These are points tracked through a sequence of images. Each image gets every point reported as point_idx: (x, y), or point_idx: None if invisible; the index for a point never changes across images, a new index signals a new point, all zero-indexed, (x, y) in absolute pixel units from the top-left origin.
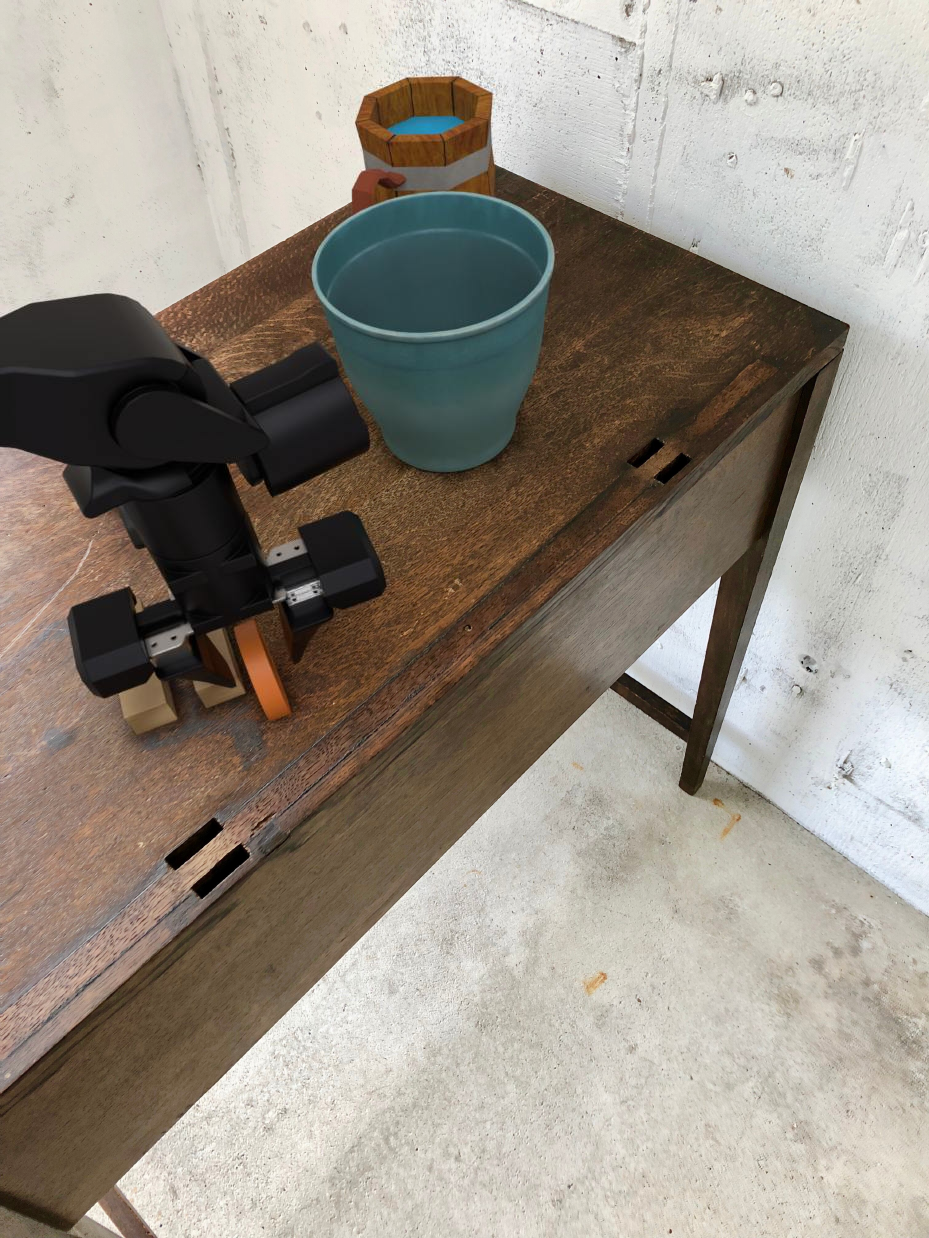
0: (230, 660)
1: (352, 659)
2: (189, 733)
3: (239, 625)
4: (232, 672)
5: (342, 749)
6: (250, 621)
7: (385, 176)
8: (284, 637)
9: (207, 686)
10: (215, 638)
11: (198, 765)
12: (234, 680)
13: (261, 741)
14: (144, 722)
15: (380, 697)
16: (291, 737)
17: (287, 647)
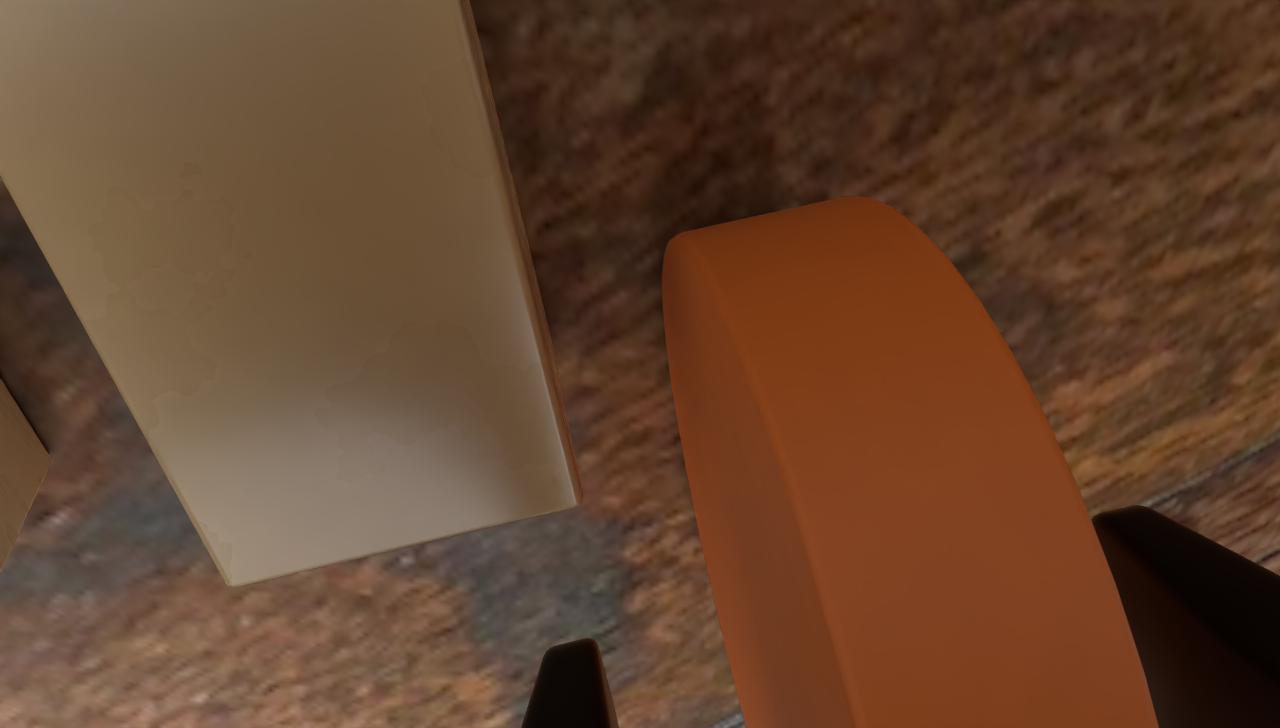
0: (537, 373)
1: (1272, 222)
2: (165, 546)
3: (927, 688)
4: (550, 481)
5: None
6: (1081, 658)
7: None
8: (1259, 700)
9: (329, 563)
10: (373, 88)
11: (259, 702)
12: (614, 715)
13: (617, 619)
14: None
15: (1269, 472)
16: None
17: (1205, 721)
